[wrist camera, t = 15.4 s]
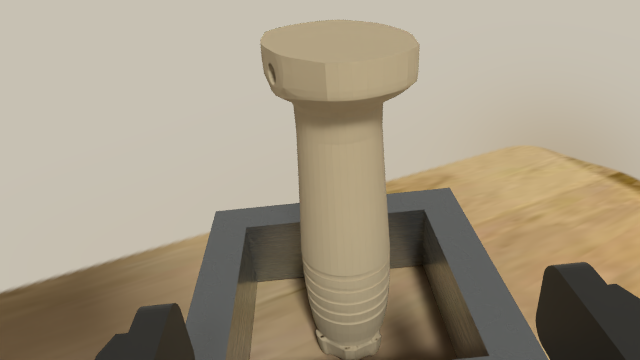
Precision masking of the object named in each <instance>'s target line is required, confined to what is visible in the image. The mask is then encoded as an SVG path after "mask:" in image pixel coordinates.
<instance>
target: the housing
mask: <svg viewBox="0 0 640 360" xmlns="http://www.w3.org/2000/svg"><path fill="white" fill-rule="evenodd" d="M386 197H387V211H388V226H389V240H390V268H400V267H410V266H419V265H423V267H424V269H425V272H426V275H427V277H428V280H429V283H430V286H431V288H432V291H433V294H434V296H435V299H436V302H437V304H438V307H439V310H440V313H441V315H442V318H443V321H444V323H445V326H446V329H447V332H448V334H449V337H450V340H451V342H452V345H453V348H454V350H455V353H456V356H457V359H454V360H548V358H547V356H546V355H545V353H544V351H543V349H542V348H541V346H540V344H539V342H538V341H537V339H536V337H535V335H534V334H533V332H532V330H531V328H530V327H529V325H528V323H527V322H526V320H525V318H524V316H523V315H522V313H521V311H520V309H519V308H518V306H517V304H516V302H515V301H514V299H513V297H512V295H511V294H510V292H509V290H508V288H507V287H506V285H505V283H504V282H503V280H502V278H501V276H500V275H499V273H498V271H497V269H496V268H495V266H494V264H493V262H492V261H491V259H490V257H489V255H488V254H487V252H486V250H485V248H484V247H483V245H482V243H481V242H480V240H479V238H478V236H477V235H476V233H475V231H474V229H473V228H472V226H471V224H470V222H469V221H468V219H467V217H466V215H465V214H464V212H463V210H462V208H461V207H460V205H459V203H458V202H457V200H456V198H455V196H454V195H453V193H452V191H451V189H450V188H443V189H433V190H423V191H414V192H404V193H394V194H386ZM300 277H305V276H304V269H303V261H302V252H301V227H300V203H296V204H286V205H275V206H266V207H256V208H246V209H236V210H226V211H216V213H215V217H214V221H213V224H212V228H211V232H210V235H209V239H208V243H207V246H206V250H205V254H204V258H203V261H202V265H201V269H200V272H199V276H198V280H197V283H196V287H195V291H194V294H193V298H192V302H191V306H190V309H189V313H188V317H187V320H186V324H185V325H186V328H187V331H188V334H189V338H190V341H191V344H192V347H193V350H194V355H195V360H249V357H250V348H251V338H252V329H253V319H254V309H255V300H256V290H257V282H261V281H271V280H280V279H290V278H300Z"/></svg>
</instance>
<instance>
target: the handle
mask: <svg viewBox="0 0 640 360" xmlns="http://www.w3.org/2000/svg"><path fill="white" fill-rule="evenodd" d="M261 54H262V62H263V68H264V74H265V76H266V78H267V81H268V82H269V85H270V87H271V90H272V91H273V93H274V94H275V95H276V96H278V97H280V98H283V99H285V100H287V101H289V102H292V103H293V105H294V114H295V123H296V133H297V152H298V153H297V154H298V172H299V174H298V175H299V196H300V197H299V198H300V227H301V252H302V261H303V269H304V276H305V283H306V287H307V294H308V298H309V303H310V307H311V311H312V315H313V318H314V321H315V324H316V326H317V328H318V329H317V330H316V335H317V339H318V342H319V345H320V347H321V350H322V351H323V352H324V353H325V354H328V355H329V354H331V355H334V356H337V357H339V358H340V359H342V360H360V359H361V358H364V357H366V356H373V355H375V354H376V353H377V351H378V350H379V347H380V342H381V334H380V327H381V326H382V323H383V320H384V316H385V312H386V306H387V299H388V290H389V275H390V240H389V226H388V211H387V197H386V182H385V165H384V148H383V129H382V116H383V111H382V110H383V102H385V101H387V100H389V99H391V98H394V97H395V96H397V95H399V94H401V93H402V92H403V91H405V90H406V89H408V88H409V87H410V86H411V85H413V84H414V83H415V82H416V81H417V77H418V67H419V44H418V42H417V41H416V39H415V38H414V36H413V35H412V34H410V33H409V32H407V31H404V30H401V29H398V28H395V27H391V26H388V25H384V24H379V23H372V22H362V21H351V20H326V21H315V22H307V23H300V24H294V25H289V26H284V27H280V28H276V29H273V30H269V31H267V32H265V33H264V35H263V36H262V38H261Z"/></svg>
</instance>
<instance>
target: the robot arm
mask: <svg viewBox="0 0 640 360" xmlns="http://www.w3.org/2000/svg"><path fill="white" fill-rule="evenodd" d="M536 328H537V333H538V336H539V339H540V342H541V344H542V346H543V348H544V349H545V351H546V353H547V355H548V356H549V358H550V360H640V299H639V298H638V297H636V296H635V295H633V294H632V293H630V292H628V291H627V290H625V289H624V288H622V287H621V286H619V285H617V284H610V285H607V284H606V282H605V281H604V280H603V279H602V278H601V277H600V275H599V274H598V273H597V272H596V271H595V270H594V269H593V267H592V266H591V265H589V264H588V263H585V262H580V263H570V264H561V265H551V266H548V267H547V268H546V269H545V271H544V276H543V281H542V286H541V292H540V297H539V302H538V308H537V313H536ZM95 360H195V355H194V350H193V347H192V344H191V341H190V338H189V334H188V331H187V328H186V325H185V322H184V319H183V316H182V313H181V310H180V307H179V306H178V304H176V303H172V304H163V305H153V306H143V307H140V308H139V309H138V311H137V313H136V315H135V317H134V320H133V322H132V325H131V327H130V330H129V332H128V333H124V334H116V335H115V336H114V337H113V338H112V339H111V340H110V341H109V342H108V343H107V345H106V346H105V347H104V348H103V349H102V350H101V351H100V352H99V353H98V355H97V356H96V358H95Z"/></svg>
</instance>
